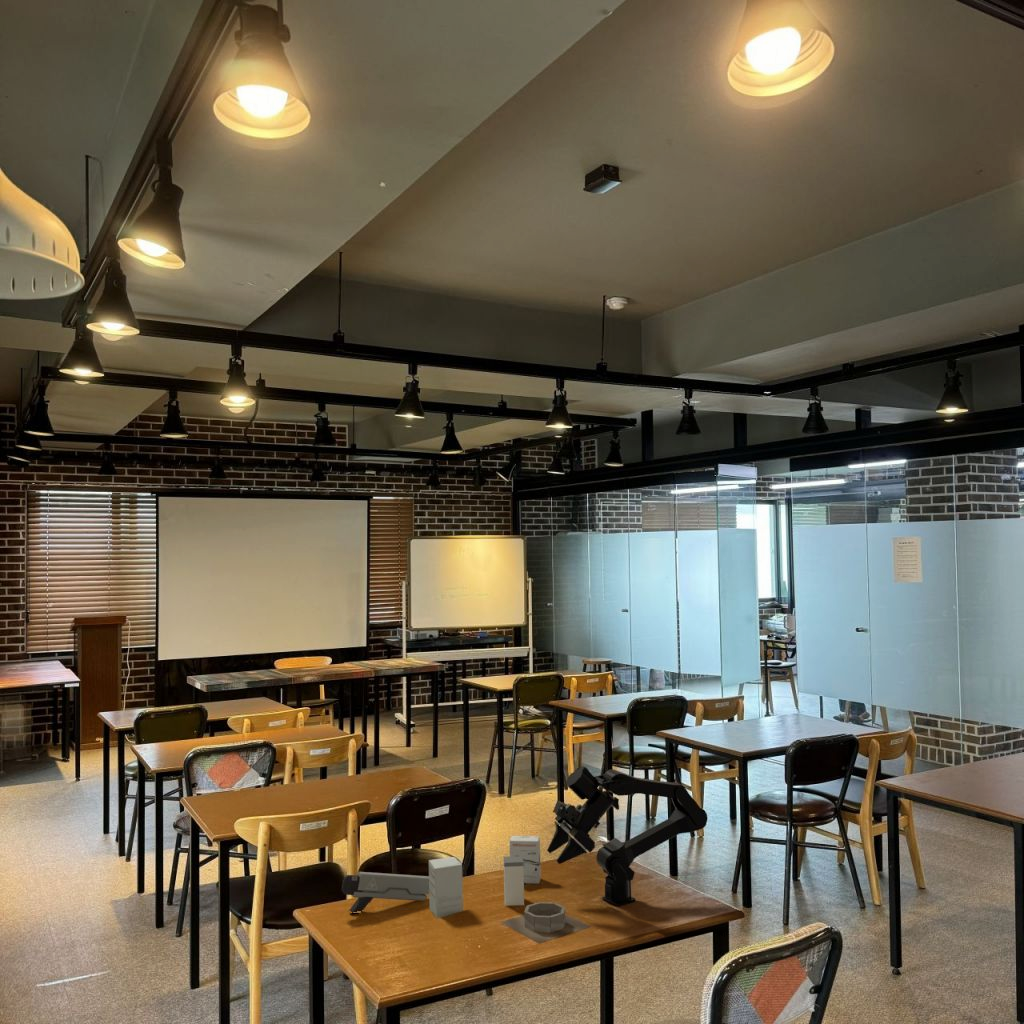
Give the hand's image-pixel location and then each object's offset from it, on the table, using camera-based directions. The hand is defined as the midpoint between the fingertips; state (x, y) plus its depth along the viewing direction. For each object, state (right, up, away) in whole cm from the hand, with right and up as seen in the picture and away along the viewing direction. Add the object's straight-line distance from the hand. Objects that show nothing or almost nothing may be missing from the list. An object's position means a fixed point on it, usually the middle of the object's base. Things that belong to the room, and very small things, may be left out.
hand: (553, 857), depth 230 cm
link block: (-10, -13, +1) cm, 17 cm away
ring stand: (-3, -12, -15) cm, 19 cm away
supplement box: (-28, -13, -2) cm, 31 cm away
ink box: (-7, -15, +20) cm, 26 cm away
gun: (-43, -14, +3) cm, 46 cm away
